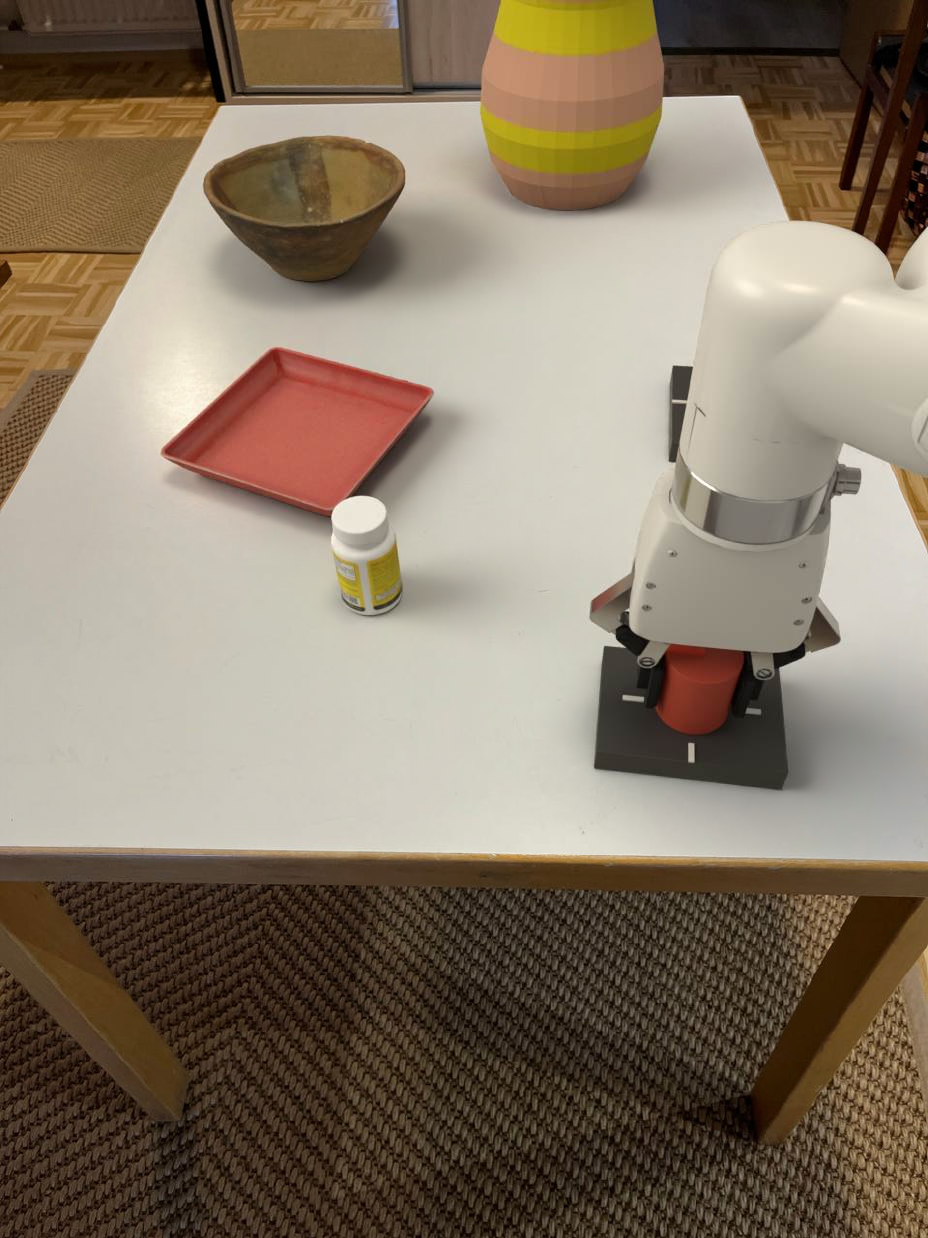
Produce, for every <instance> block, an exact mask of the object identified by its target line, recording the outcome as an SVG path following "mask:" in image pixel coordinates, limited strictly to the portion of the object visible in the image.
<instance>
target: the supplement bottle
mask: <svg viewBox="0 0 928 1238" xmlns="http://www.w3.org/2000/svg"><path fill="white" fill-rule="evenodd" d="M387 510H388V509H387V507H386V506H385V504H384V502H382V501H381V500H379V499H378V498H376V497H373V496H368V495H356V496H351V497H350V498H348V499H346V500H344V501H342V502H340V503H339V504H338V505H337V506H336V507H335V508H334V510H333V512H332V515H331V517H330V518H331V524H332V534H331V537H330V548H331V552H332V557H333V561H334V566H335V571H336V577H337V580H338V586H339V591H340V594H341V599H342V601H343V604H344V605H345V606H346V608H348V609H349V610H350V611H352V612H353V613H355V614H359V615H364V616H374V615H380V614H384V613H386V612H388V611H390V610H392V609H393V608H394V607H395V606H397V604H398V603H399V602H400V600H401V598H402V595H403V581H402V573H401V566H400V565H401V564H400V557H399V551H398V549H399V548H398V542H397V536H396V531H395V529H394V526H392V524H391V523H390V521H389V515H388V512H387Z"/></svg>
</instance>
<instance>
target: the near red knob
mask: <svg viewBox="0 0 928 1238" xmlns="http://www.w3.org/2000/svg"><path fill="white" fill-rule="evenodd" d="M743 663H744V653H743V651H742V650H731V649H720V648H710V647H700V646H690V645H681V644H672V643H671V644H670V646H669V647H668V649H667V650H666V652H665V653H664V674H663V679H662V684H661V689H660V693H659V698H658V703H657V707H655V708H656V711H657V713H658V715H659V716H660V718H661V719H662V720H663V721H664V722H665V723H666V724H667V725H668V726H670V727H671V728H673V729H675V730H677V731H679V732H682V733H685V734H691V735H701V734H707V733H710V732H712V731H714V730H716V729H718V728H719V727H720V726H721V725H722V724H723V723H724V721H725V720H726V718H727V715H728V712H729V709H730V705H731V702H732V699H733V696H734V693H735V689H736V686H737V683H738V680H739V677H740V673H741V670H742V667H743Z"/></svg>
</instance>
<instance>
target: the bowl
mask: <svg viewBox="0 0 928 1238" xmlns="http://www.w3.org/2000/svg"><path fill="white" fill-rule="evenodd" d="M405 186H406V168H405V165H404V164H403V162H402V161H401V159H399V158H398V157H397V155H395V154H394V153H392V152H391V151H389V150H387V149H385V148H384V147H382V146H380V145H377V144H375V143H373V142H366V141H365V140H363V139H360V138H354V137H349V136H339V135H315V136H298V137H292V138H288V139H284V140H280V141H276V142H273V143H266V144H262V145H261V144H260V145H258V146H255V147H251V148H248V149H245V150H243V151H241V152H238V153H237V154H235V155H232V156H231V157H227V158H224V159H222V160H220V161H218V162H217V163H215V164H214V165H213V167H212V168H211V169H209V170H208V171H207V172H206V174H205V176H204V178H203V183H202V189H203V194H204V196H205V198H206V199H207V200H208V202H209V204H210V206H211V207H212V209H213V210H214V212H215V213H216V214H217V216H218V217H219V218H220V219H221V221H222V222H223V223H224V225H225V226H226V227H227V228H228V229H229V230H230V232H231V233H232V234H233V235H234V236H235V237H236V238H237V239H238V240H239V241H240V242H241V243H242V244H243V245H244V246H246V247H247V248H248V249H249V250H250V251H251V252H253V254H255V255H257V256H258V257H259V258H261V259H262V260H263V262H265V263H266V264H267V265H269V266H270V267H271V269H273V270H274V271H275V272H276V273H277V274H278V275H280V276H282V277H284V278H287V279H290V280H295V281H303V282H319V281H326V280H327V281H328V280H332V279H335V278H337V277H339V276H341V275H343V274H345V273H347V271H349V270H350V269H351V268H352V266H353V265H354V264H355V262H356V261H357V260H358V258H359V256H360V255H361V254H362V253H363V251H364V250H365V249H366V247H367V246H368V245H369V244H370V242H371V241H372V239H373V238H374V236H375V235H376V233H378V231H379V230H380V228H381V226H382V224H383V223H384V222H385V220H386V219H387V217H388V216H389V214H390V212H391V211H392V209H393V208H394V206H395V204H396V203H397V202H398V200H399V198H400V196H401V194H402V193H403V190H404V189H405Z"/></svg>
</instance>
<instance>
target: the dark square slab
mask: <svg viewBox="0 0 928 1238" xmlns="http://www.w3.org/2000/svg"><path fill="white" fill-rule="evenodd" d="M692 370H693V365H692V366H690V365H689V366H688V365H672V367H671V373H670V381H669V412H668V413H669V417H668V418H669V419H668V422H669V423H668V461H669V462H675V463H676V459H677V453H678V448H679V443H680V437H681V432H682V427H683V421H684V416H685V410H686V405H687V400H688V394H689V389H690V382H691V376H692Z"/></svg>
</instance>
